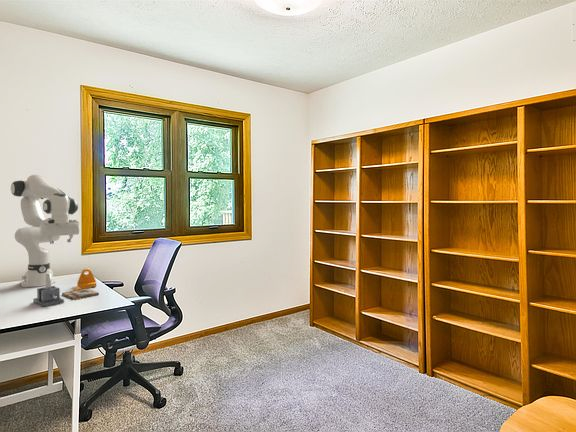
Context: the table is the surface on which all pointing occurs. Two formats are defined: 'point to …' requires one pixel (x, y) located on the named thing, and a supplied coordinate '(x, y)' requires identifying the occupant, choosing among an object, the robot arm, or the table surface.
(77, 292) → the loop
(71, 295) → the board
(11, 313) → the table surface
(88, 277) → the orange rounded piece
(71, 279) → the table surface
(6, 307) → the table surface
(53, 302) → the vise
